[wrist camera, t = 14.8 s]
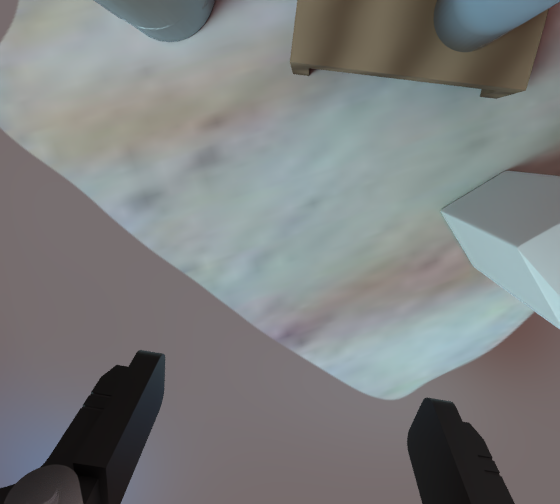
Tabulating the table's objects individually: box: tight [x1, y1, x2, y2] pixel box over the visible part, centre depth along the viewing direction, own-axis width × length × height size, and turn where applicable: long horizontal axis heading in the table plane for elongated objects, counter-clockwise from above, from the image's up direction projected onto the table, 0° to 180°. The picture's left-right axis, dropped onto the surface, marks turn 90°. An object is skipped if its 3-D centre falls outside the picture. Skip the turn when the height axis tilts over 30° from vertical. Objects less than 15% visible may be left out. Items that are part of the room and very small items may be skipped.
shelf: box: [290, 0, 549, 99], centre depth 31 cm, size 19×10×5 cm, turn 83°
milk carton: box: [441, 171, 560, 329], centre depth 28 cm, size 7×7×19 cm
